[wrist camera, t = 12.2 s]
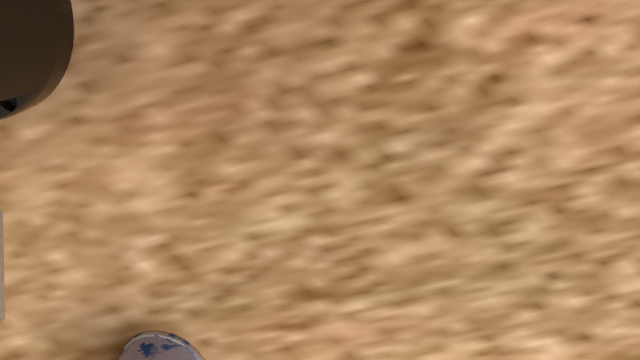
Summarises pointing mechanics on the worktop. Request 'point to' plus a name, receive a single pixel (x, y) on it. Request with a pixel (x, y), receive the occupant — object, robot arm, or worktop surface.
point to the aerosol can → (159, 348)
